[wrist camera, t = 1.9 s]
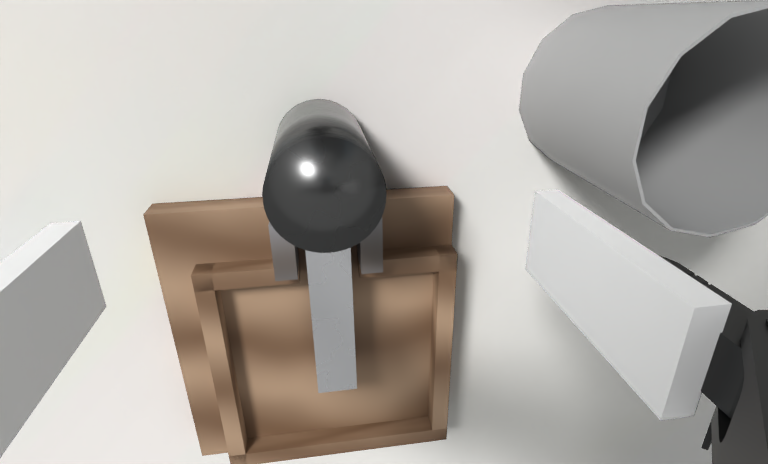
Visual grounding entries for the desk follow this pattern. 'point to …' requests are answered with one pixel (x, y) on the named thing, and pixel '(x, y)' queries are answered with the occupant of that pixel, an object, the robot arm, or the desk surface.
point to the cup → (659, 109)
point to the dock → (307, 328)
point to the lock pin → (325, 220)
